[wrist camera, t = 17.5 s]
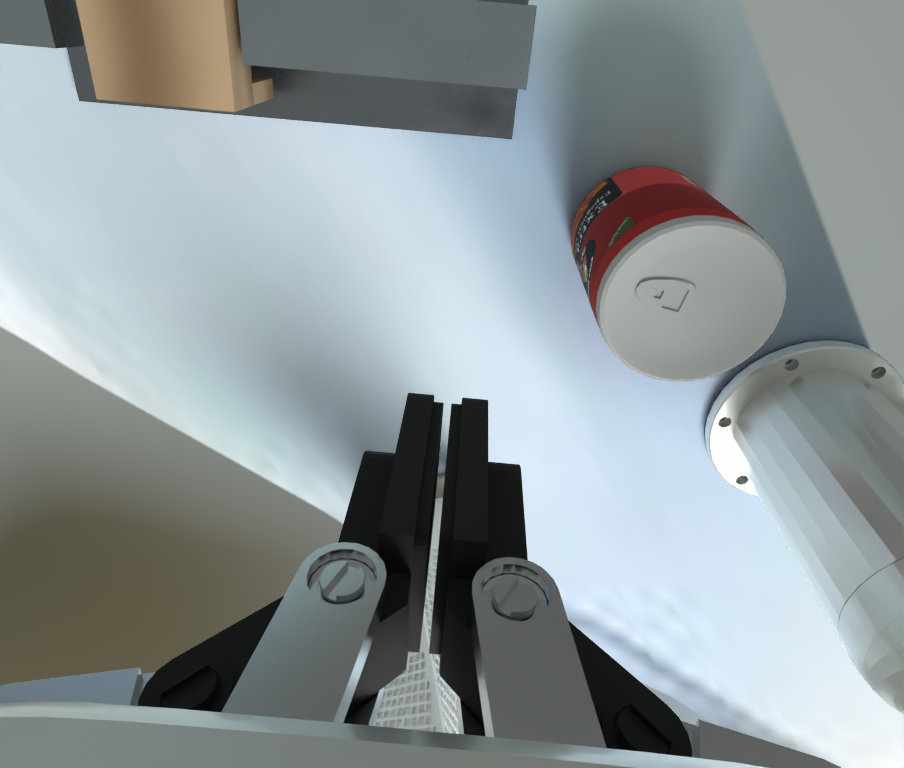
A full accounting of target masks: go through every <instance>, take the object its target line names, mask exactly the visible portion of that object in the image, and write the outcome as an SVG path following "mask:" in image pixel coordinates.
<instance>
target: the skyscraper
mask: <svg viewBox="0 0 904 768" xmlns="http://www.w3.org/2000/svg"><path fill="white" fill-rule="evenodd" d="M444 481H445V475H441V476H438V477H437V490H436V502H435V512H434V522H433V531H432V541H431V550H430V559H429V569H428V578H427V587H426V597H425V606H424V615H423V625H422V634H421V643H420V652H419V653H417V652H408V658H407V666H406V670H404V672H403V673H402V674H401V675H399V676H398V677H397V678H395V679H394V680H393V681H391V682H390V683H389V684H387V685H386V686H385V687H384V690H383V697H382V701H381V705H380V708H379V711H378V714H377V717H376V721H375V724H374V726H379V727H390V728H401V729H412V730H422V731H433V732H444V733H454V734H459V727H458V718H457V709H456V702H457V694H456V693H455V692H454V691H453V690H452V689H451V688H450V686H449V685H448V684H447V683H446V682H445V681H444V680H443V679H442V678H441V676H440V673H439V666H440V655H438V654H429V647H430V636H431V625H432V613H433V602H434V591H435V580H436V568H437V557H438V546H439V535H440V524H441V513H442V502H443V492H444Z"/></svg>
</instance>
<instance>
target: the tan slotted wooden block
mask: <svg viewBox="0 0 904 768" xmlns="http://www.w3.org/2000/svg"><path fill="white" fill-rule="evenodd" d="M76 4H77V9H78V13H79V18H80V23H81V28H82V32H83V37H84V42H85V47H86V51H87V56H88V61H89V66H90V70H91V75H92V80H93V84H94V89H95V94H96V99H99V100H109V101H120V102H131V103H141V104H152V105H163V106H173V107H184V108H195V109H205V110H216V111H227V112H237V111H240V110H242V109H245V108H248V107H250V106H253V105H256V104H259V103H261V102H264V101H267V100H269V99H272V98H274V96H273V81H272V78H265V77H254V76H252V75H251V65H243V55H242V45H241V34H240V24H239V13H238V3H237V0H76Z"/></svg>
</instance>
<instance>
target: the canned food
mask: <svg viewBox="0 0 904 768" xmlns="http://www.w3.org/2000/svg"><path fill="white" fill-rule="evenodd" d="M571 245H572V251H573V256H574V259H575V261H576V264H577V267H578V270H579V273H580V276H581V279H582V282H583V284H584V287H585V290H586V293H587V296H588V299H589V302H590V304H591V307H592V310H593V313H594V316H595V318H596V321H597V324H598V326H599V328H600V331H601V333H602V336H603V338H604V340H605V341H606V343H607V344H608V346H609V347H610V349H611V350H612V352H613V353H614V354H615V356H617V357H618V358H619V359H620V360H621V361H622V362H623V363H624V364H625V365H626V366H628V367H630V368H631V369H633V370H635V371H636V372H638V373H640V374H643V375H646V376H648V377H651V378H654V379H660V380H665V381H693V380H700V379H705V378H708V377H712V376H715V375H718V374H721V373H723V372H725V371H727V370H729V369H732V368H734V367H736V366H737V365H739V364H740V363H742V362H743V361H745V360H746V359H748V358H749V357H751V356H752V355H753V354H754V353H755V352H756V351H757V350H758V349H759V348H760V347H762V346H763V345H764V343H765V342H766V341H767V339H768V338H769V337H770V335H771V334H772V333H773V332H774V330H775V328H776V326H777V324H778V322H779V320H780V318H781V316H782V313H783V309H784V305H785V302H786V287H787V283H786V278H785V273H784V268H783V266H782V264H781V262H780V260H779V258H778V256H777V254H776V253H775V252H774V250H773V249H772V247H771V246H770V245H769V244H768V243H767V242H766V240H765V239H764V238H763V237H762V236H761V235H760V234H759V233H757V232H756V231H755V230H754V229H753V228H752V227H751V226H749V225H748V224H747V223H745V222H744V221H743V220H742V219H740V218H739V217H738V216H736V215H735V214H734V213H733V212H731V211H730V210H729V209H727V208H726V207H725V206H723V205H722V204H721V203H720V202H718V201H717V200H716V199H714V198H713V197H712V196H711V195H709V194H708V193H707V192H705V191H704V190H703V189H701V188H700V187H699V186H698V185H696V184H695V183H694V182H692V181H691V180H690V179H688V178H687V177H685V176H684V175H682V174H680V173H678V172H675V171H673V170H671V169H666V168H661V167H638V168H633V169H628V170H625V171H623V172H620V173H618V174H615V175H613V176H611V177H610V178H608V179H607V180H605V181H603V182H602V183H600V184H599V185H598V186H597V187H596V188H595V189H594V190H593V191H592V192H590V194H589V195H588V196H587V198H586V199H585V200H584V201H583V203H582V204H581V206H580V208H579V210H578V212H577V214H576V216H575V220H574V223H573V227H572V235H571Z"/></svg>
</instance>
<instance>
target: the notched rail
mask: <svg viewBox="0 0 904 768" xmlns="http://www.w3.org/2000/svg"><path fill="white" fill-rule="evenodd" d="M237 3H238V13H239V24H240V34H241V45H242V55H243V65H251V75H252V76H254V77H265V78H272V81H273V96H274V98H272V99H269V100H267V101H264V102H261V103H259V104H256V105H253V106H250V107H248V108H245V109H242V110H240V111H237V112H227V111H216V110H205V109H195V108H184V107H173V106H163V105H152V104H141V103H131V102H120V101H109V100H99V99H96V94H95V89H94V84H93V80H92V75H91V70H90V66H89V61H88V56H87V51H86V47H85V42H84V37H83V32H82V28H81V23H80V18H79V13H78V9H77V4H76V0H0V43H4V44H15V45H27V46H38V47H49V48H64V47H67V50H68V54H69V59H70V63H71V67H72V72H73V76H74V80H75V85H76V89H77V94H78V98H79V101H87V102H98V103H110V104H121V105H132V106H143V107H155V108H166V109H177V110H188V111H200V112H211V113H222V114H234V115H245V116H256V117H267V118H279V119H290V120H301V121H313V122H324V123H335V124H346V125H358V126H369V127H380V128H391V129H403V130H414V131H425V132H437V133H448V134H459V135H470V136H482V137H493V138H504V139H512V133H513V125H514V116H515V108H516V100H517V91H518V89H525V90H526V86H527V79H528V71H529V63H530V55H531V47H532V39H533V31H534V23H535V15H536V7H537V6H534V5H528V0H237Z"/></svg>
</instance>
